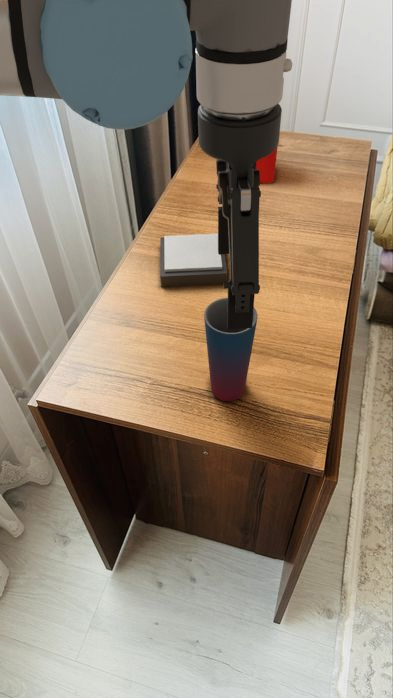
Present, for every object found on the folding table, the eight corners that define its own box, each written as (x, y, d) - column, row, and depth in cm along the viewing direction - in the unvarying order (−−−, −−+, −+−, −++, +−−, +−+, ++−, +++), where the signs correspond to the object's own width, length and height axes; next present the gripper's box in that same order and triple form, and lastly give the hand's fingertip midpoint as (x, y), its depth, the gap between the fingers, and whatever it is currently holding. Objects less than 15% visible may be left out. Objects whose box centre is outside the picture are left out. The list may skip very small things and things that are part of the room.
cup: (258, 382, 75) (266, 308, 64) (236, 413, 71) (241, 341, 60) (219, 364, 78) (221, 290, 67) (196, 393, 74) (193, 321, 63)
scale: (161, 286, 90) (160, 273, 88) (161, 247, 99) (160, 234, 96) (227, 283, 91) (227, 270, 88) (221, 244, 99) (221, 232, 97)
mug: (274, 184, 114) (279, 138, 106) (238, 182, 115) (240, 137, 107) (275, 159, 122) (280, 115, 114) (242, 158, 123) (244, 114, 115)
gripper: (309, 169, 36) (281, 362, 51) (262, 54, 53) (252, 226, 68) (205, 174, 36) (208, 366, 51) (192, 57, 53) (197, 228, 68)
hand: (233, 286), depth 60 cm, fingers open, 13 cm apart
